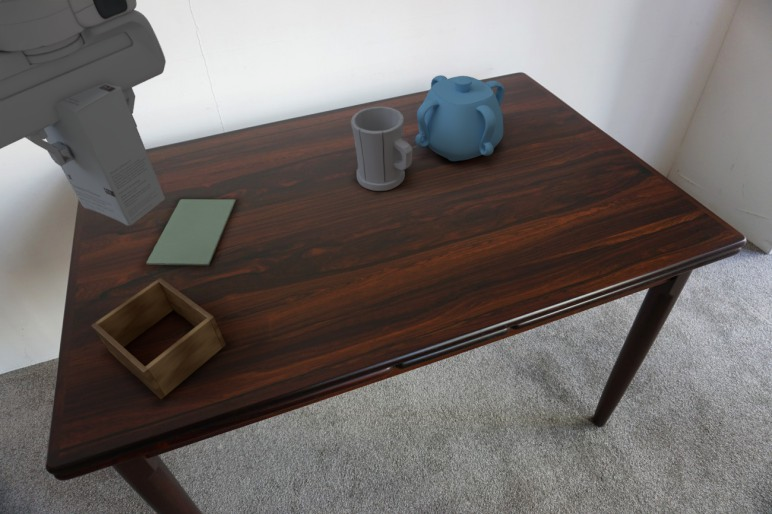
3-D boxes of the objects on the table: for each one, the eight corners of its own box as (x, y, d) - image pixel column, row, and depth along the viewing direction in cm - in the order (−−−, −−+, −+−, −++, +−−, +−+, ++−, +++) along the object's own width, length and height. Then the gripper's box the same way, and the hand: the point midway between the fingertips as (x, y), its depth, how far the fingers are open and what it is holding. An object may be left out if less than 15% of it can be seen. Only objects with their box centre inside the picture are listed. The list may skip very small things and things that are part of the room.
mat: (209, 265, 81) (208, 263, 81) (146, 264, 82) (145, 263, 81) (235, 201, 92) (235, 199, 92) (181, 200, 93) (180, 199, 93)
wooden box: (161, 399, 64) (143, 372, 60) (110, 353, 70) (90, 325, 66) (226, 345, 70) (213, 316, 66) (174, 305, 75) (160, 277, 71)
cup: (415, 164, 98) (415, 106, 90) (412, 194, 92) (411, 134, 83) (360, 163, 99) (354, 105, 91) (353, 192, 93) (347, 133, 84)
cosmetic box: (83, 209, 62) (12, 93, 51) (121, 180, 65) (63, 67, 55) (133, 228, 59) (70, 110, 48) (171, 197, 63) (120, 81, 52)
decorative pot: (510, 132, 105) (519, 66, 95) (488, 175, 95) (496, 107, 85) (434, 118, 110) (435, 54, 101) (405, 158, 100) (404, 91, 90)
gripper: (-85, 65, 40) (15, 205, 49) (147, -16, 50) (191, 112, 60) (-114, 46, 42) (-13, 182, 52) (111, -27, 53) (159, 97, 63)
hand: (97, 144), depth 56 cm, fingers closed on cosmetic box, 6 cm apart
